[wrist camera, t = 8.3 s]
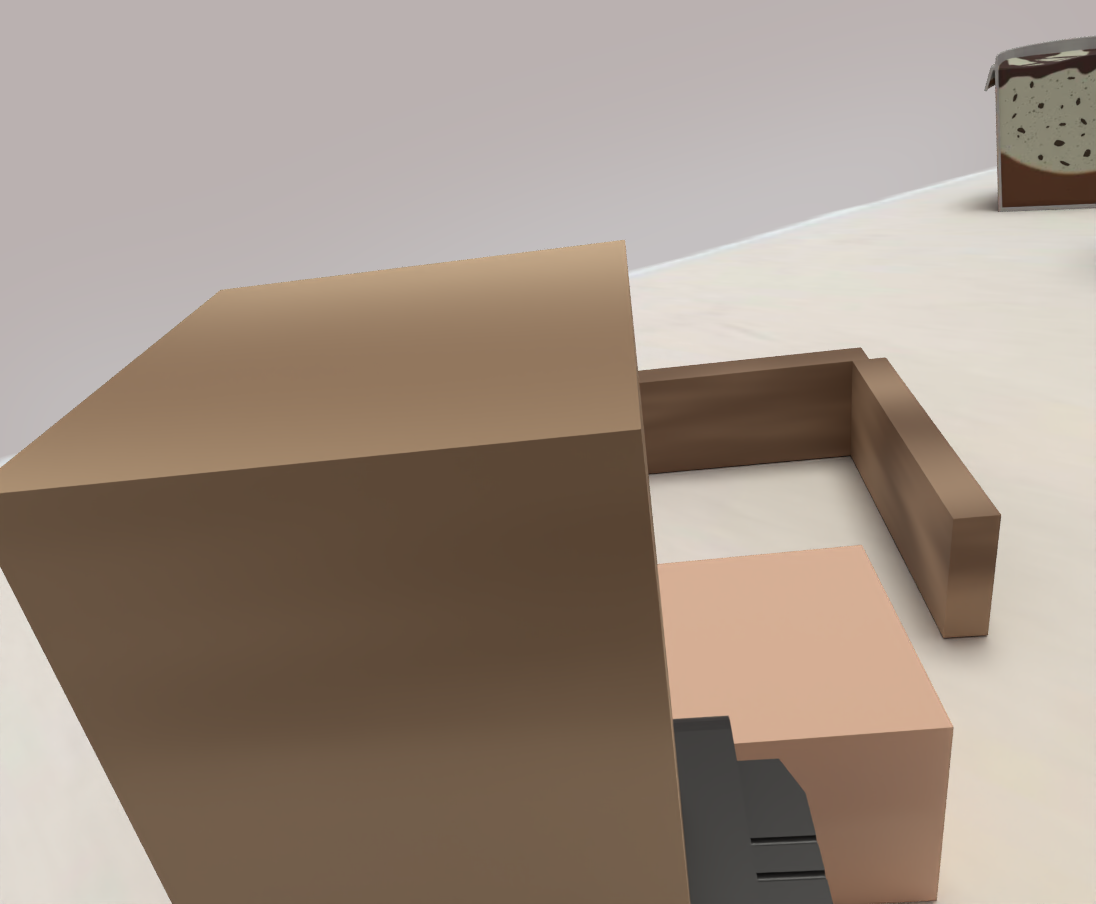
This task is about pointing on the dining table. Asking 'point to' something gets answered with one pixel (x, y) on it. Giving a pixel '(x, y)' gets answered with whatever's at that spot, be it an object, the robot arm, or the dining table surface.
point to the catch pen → (839, 430)
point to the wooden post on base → (370, 591)
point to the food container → (1046, 125)
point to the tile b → (820, 704)
